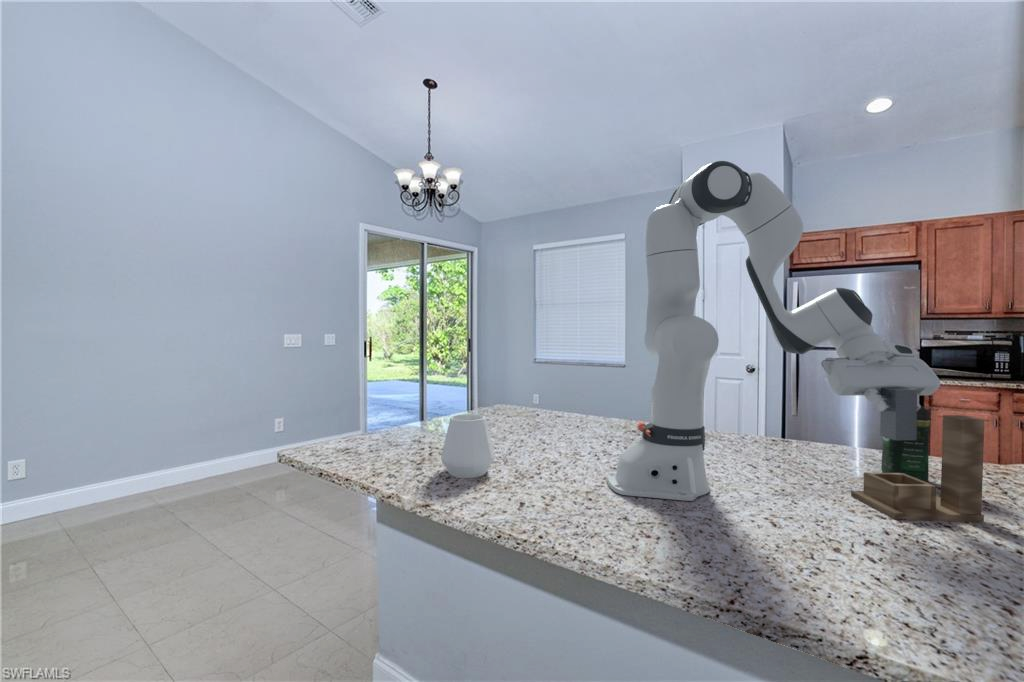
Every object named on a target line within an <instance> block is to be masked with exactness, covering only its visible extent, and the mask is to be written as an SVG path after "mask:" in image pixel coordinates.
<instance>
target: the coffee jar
mask: <svg viewBox="0 0 1024 682" xmlns="http://www.w3.org/2000/svg"><path fill="white" fill-rule="evenodd" d="M920 406H921V408H920V409H919V410H918V411H917V439H916V440H893V439H890V438H886V437H883V436H882V447H881V448H882V451H881V466H880V467H881V473H904V474H907V475H909V476H912V477H914V478H917V479H919V480H922V481H925V482H927V483H929V475H930V474H929V472H930V471H929V467H930V465H929V461H930V460H929V457H930V455H929V454H930V453H929V452H930V451H929V448H930V447H929V446H930V427H931V412H930V410H929V409H927V408H926V407H924V406H922V405H920Z"/></svg>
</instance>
